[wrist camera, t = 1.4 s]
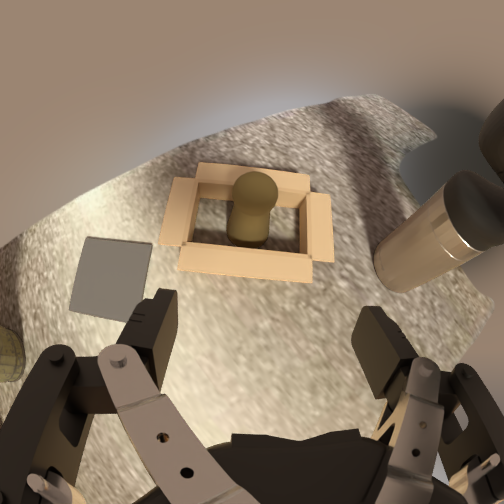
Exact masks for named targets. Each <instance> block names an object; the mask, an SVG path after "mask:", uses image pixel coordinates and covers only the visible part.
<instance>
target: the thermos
mask: <svg viewBox="0 0 504 504" xmlns="http://www.w3.org/2000/svg"><path fill="white" fill-rule="evenodd" d="M25 361H26V357H25V350H24V347H23V344H22V341H21V339H20V338H19V336H18V335H17V334H16V333H15V332H14V331H13V330H10V329H7V328H4V327H3V326H0V382H7V381H8V382H16V381H17V380H19V379H20V378H21V376H22V375H23V373H24V369H25Z"/></svg>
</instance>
